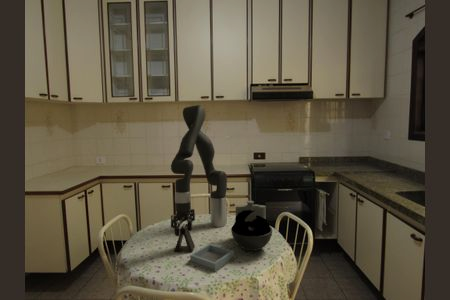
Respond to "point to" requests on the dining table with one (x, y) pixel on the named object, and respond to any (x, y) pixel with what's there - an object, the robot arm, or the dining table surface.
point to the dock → (212, 257)
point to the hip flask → (258, 210)
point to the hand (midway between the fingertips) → (183, 232)
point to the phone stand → (188, 239)
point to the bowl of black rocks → (251, 231)
